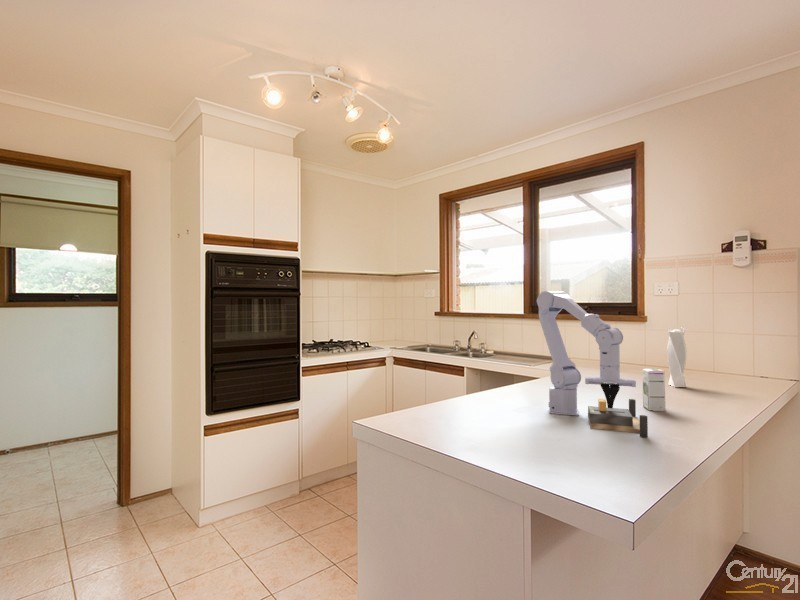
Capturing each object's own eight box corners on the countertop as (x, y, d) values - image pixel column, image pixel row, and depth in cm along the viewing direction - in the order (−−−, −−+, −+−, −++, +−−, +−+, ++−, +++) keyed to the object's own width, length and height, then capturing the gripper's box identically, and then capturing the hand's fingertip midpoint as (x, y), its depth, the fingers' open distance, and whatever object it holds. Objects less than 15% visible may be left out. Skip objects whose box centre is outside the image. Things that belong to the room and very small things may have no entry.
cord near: (640, 437, 121) (640, 416, 121) (639, 435, 122) (639, 414, 123) (648, 438, 120) (648, 417, 120) (647, 436, 122) (646, 415, 122)
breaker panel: (590, 428, 130) (590, 415, 130) (587, 415, 144) (587, 404, 144) (645, 433, 124) (645, 419, 124) (637, 420, 138) (637, 407, 138)
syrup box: (666, 411, 149) (665, 371, 149) (648, 410, 150) (647, 370, 150) (659, 407, 154) (659, 368, 155) (642, 406, 156) (641, 368, 156)
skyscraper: (691, 388, 188) (690, 326, 188) (674, 388, 188) (674, 326, 188) (679, 384, 196) (679, 325, 196) (663, 385, 196) (663, 325, 196)
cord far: (629, 417, 141) (629, 400, 141) (628, 416, 143) (628, 398, 143) (636, 418, 140) (635, 400, 140) (635, 416, 142) (635, 399, 142)
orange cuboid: (599, 410, 133) (599, 401, 133) (598, 407, 138) (598, 398, 138) (606, 411, 133) (606, 401, 133) (605, 408, 137) (605, 399, 137)
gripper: (585, 366, 133) (586, 408, 133) (637, 368, 128) (637, 412, 128) (584, 363, 140) (585, 403, 140) (633, 365, 135) (634, 407, 134)
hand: (610, 407), depth 134 cm, fingers closed
